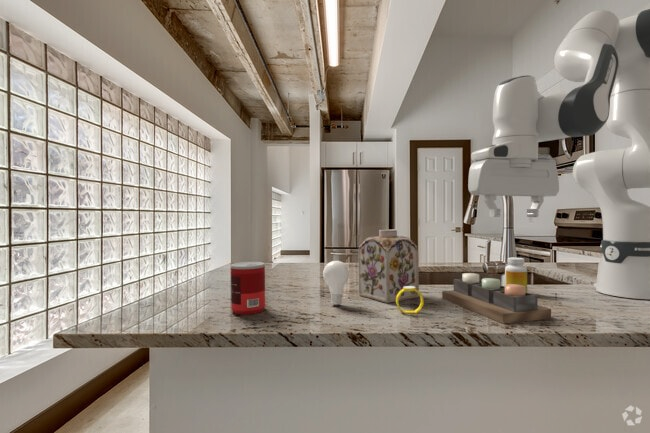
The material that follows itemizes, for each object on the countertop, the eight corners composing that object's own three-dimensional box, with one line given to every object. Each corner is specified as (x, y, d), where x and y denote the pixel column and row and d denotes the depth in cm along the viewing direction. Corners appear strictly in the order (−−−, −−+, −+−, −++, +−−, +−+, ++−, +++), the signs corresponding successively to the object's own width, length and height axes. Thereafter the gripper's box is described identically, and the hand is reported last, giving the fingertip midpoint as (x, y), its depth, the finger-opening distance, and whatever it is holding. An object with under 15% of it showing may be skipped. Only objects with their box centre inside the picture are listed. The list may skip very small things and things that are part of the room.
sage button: (492, 290, 91) (492, 277, 91) (504, 293, 87) (504, 280, 87) (478, 291, 90) (478, 278, 90) (489, 294, 86) (489, 281, 86)
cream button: (472, 284, 98) (472, 272, 98) (482, 287, 94) (482, 275, 94) (459, 285, 97) (459, 273, 97) (468, 288, 93) (468, 276, 93)
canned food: (271, 307, 91) (270, 262, 91) (254, 316, 84) (253, 267, 83) (243, 305, 94) (242, 261, 93) (224, 313, 86) (223, 265, 86)
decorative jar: (420, 297, 99) (419, 229, 99) (387, 304, 93) (387, 231, 93) (388, 289, 109) (387, 227, 109) (357, 295, 103) (356, 229, 102)
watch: (398, 315, 84) (396, 289, 84) (396, 312, 87) (394, 286, 86) (425, 313, 84) (423, 287, 84) (422, 310, 86) (420, 284, 86)
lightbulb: (353, 303, 94) (352, 259, 93) (343, 310, 88) (343, 263, 88) (329, 301, 96) (329, 258, 96) (319, 307, 91) (318, 261, 90)
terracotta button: (515, 297, 84) (515, 283, 83) (529, 301, 80) (529, 287, 80) (500, 298, 82) (500, 284, 82) (514, 302, 79) (514, 288, 79)
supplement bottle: (530, 296, 99) (530, 259, 99) (508, 295, 100) (508, 259, 100) (523, 292, 104) (523, 257, 104) (502, 291, 105) (502, 256, 105)
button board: (482, 295, 101) (481, 277, 100) (551, 318, 79) (551, 294, 79) (442, 298, 97) (442, 279, 97) (503, 323, 76) (503, 299, 76)
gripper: (544, 157, 87) (543, 217, 87) (464, 153, 82) (463, 216, 82) (567, 152, 80) (566, 217, 80) (482, 148, 76) (481, 216, 76)
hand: (513, 217), depth 81 cm, fingers open, 8 cm apart
